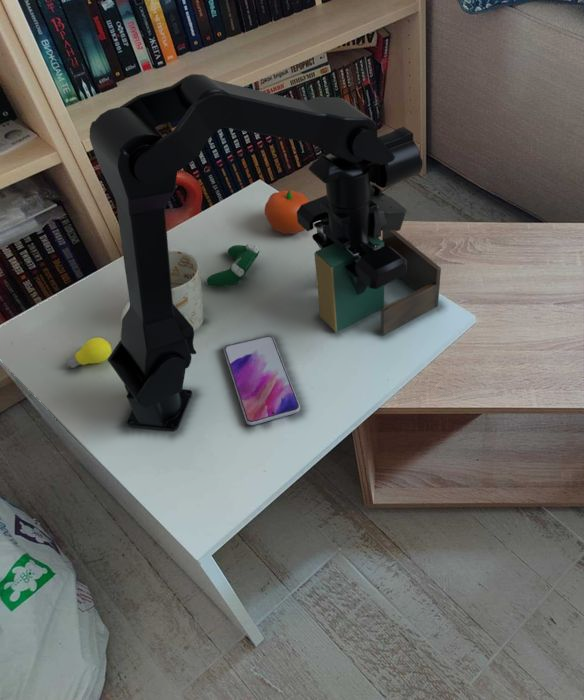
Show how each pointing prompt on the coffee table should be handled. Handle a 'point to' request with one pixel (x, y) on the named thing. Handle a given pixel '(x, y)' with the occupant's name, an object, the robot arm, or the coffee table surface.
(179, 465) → the coffee table surface
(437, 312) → the coffee table surface
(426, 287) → the book rack
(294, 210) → the pumpkin
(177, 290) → the mug
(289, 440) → the coffee table surface
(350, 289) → the book
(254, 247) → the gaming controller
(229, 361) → the smartphone
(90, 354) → the light bulb
